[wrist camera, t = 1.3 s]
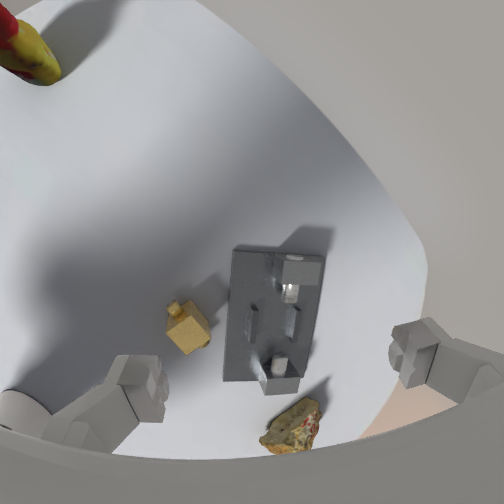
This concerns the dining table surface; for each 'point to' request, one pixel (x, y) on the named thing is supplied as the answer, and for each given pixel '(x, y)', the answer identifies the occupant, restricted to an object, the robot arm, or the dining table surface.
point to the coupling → (187, 326)
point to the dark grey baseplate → (271, 318)
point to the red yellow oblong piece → (26, 52)
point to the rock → (293, 428)
